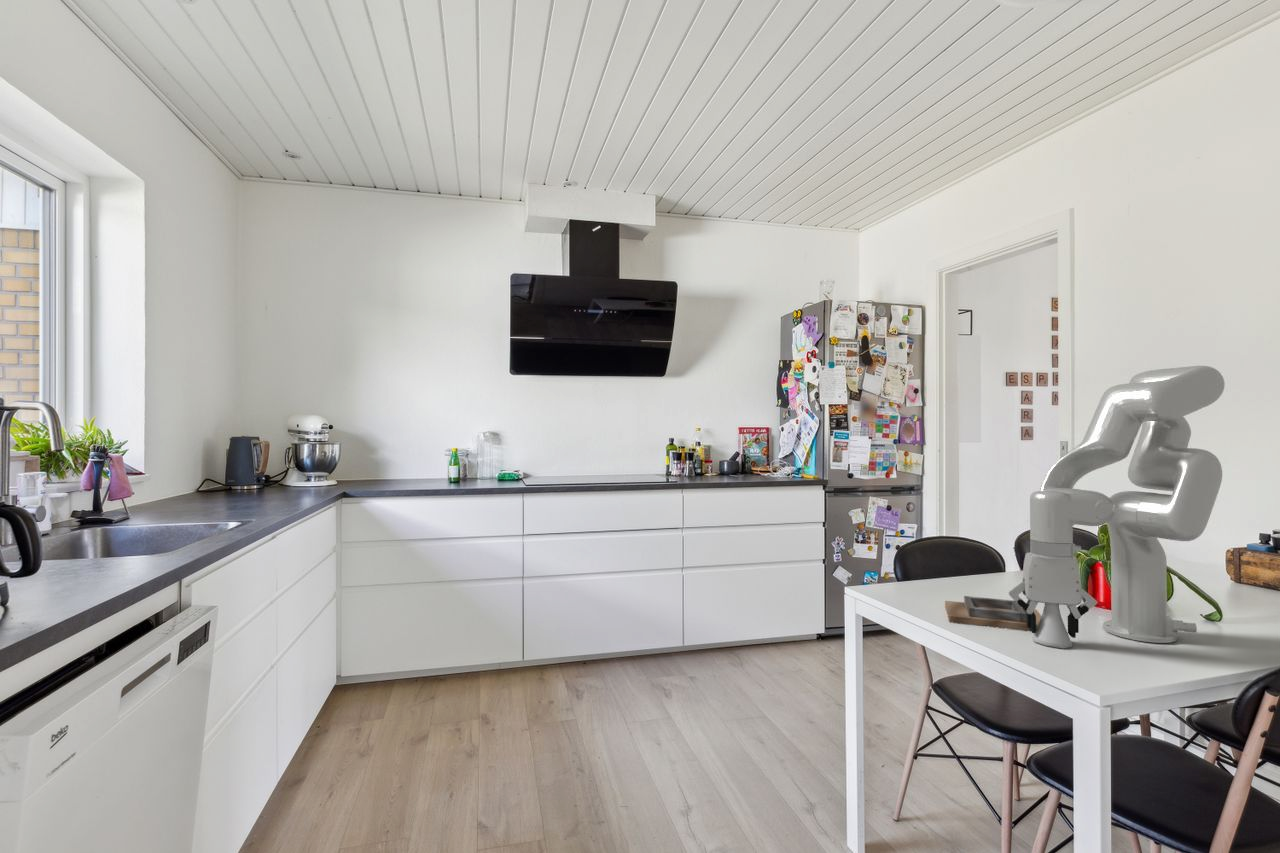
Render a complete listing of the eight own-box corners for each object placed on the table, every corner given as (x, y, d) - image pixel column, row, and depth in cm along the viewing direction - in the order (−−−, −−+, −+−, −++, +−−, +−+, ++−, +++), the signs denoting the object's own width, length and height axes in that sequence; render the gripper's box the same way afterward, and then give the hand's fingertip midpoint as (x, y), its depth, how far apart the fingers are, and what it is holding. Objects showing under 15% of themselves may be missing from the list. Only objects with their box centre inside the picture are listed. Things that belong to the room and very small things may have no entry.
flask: (1066, 651, 122) (1066, 602, 122) (1026, 642, 128) (1026, 595, 128) (1077, 644, 127) (1077, 596, 127) (1038, 635, 132) (1038, 589, 132)
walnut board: (1036, 615, 146) (1036, 601, 146) (1049, 633, 133) (1049, 617, 133) (944, 606, 154) (944, 592, 154) (949, 622, 141) (949, 607, 141)
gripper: (1095, 549, 127) (1096, 633, 127) (1001, 543, 134) (1002, 623, 134) (1106, 555, 121) (1107, 644, 120) (1007, 549, 127) (1007, 633, 127)
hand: (1051, 632), depth 127 cm, fingers open, 6 cm apart
